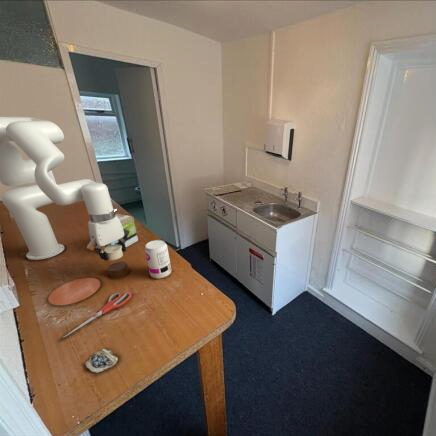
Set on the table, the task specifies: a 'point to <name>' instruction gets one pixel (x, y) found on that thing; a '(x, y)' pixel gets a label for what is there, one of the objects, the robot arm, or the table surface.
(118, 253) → the cylinder
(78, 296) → the plate
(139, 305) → the table surface
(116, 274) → the cylinder
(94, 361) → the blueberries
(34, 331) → the table surface
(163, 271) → the supplement can
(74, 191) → the robot arm
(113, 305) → the scissors
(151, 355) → the table surface
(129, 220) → the tea box
